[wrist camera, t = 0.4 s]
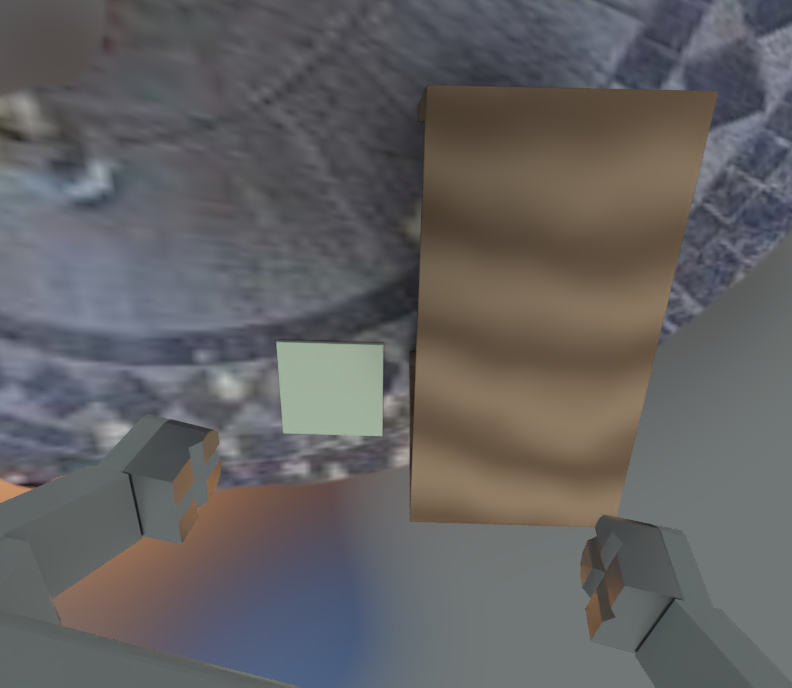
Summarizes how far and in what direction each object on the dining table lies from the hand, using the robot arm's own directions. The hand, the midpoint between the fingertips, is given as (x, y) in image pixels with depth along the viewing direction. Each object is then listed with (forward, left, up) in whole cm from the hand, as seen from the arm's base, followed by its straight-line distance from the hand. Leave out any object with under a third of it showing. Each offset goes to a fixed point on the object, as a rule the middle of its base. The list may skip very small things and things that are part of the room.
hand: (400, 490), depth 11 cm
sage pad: (+22, -8, -45) cm, 50 cm away
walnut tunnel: (+5, +8, -45) cm, 45 cm away
